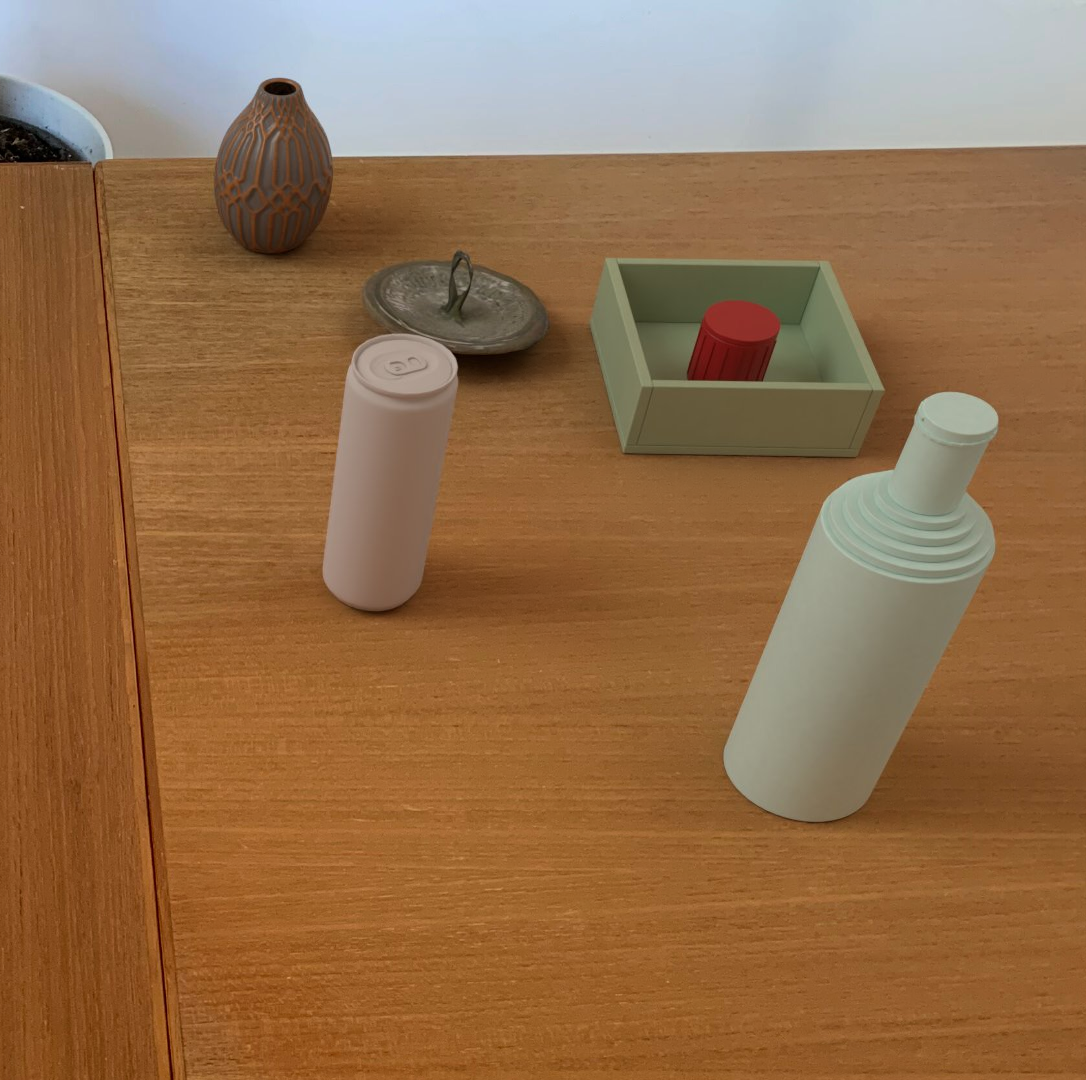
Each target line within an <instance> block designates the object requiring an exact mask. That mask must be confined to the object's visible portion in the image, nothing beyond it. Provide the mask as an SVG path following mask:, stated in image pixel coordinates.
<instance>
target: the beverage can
mask: <svg viewBox="0 0 1086 1080" xmlns="http://www.w3.org/2000/svg"><path fill="white" fill-rule="evenodd" d="M352 354H353V355H352V357H351V363H350V364H349V367H348V369H347V373H346V377H345V384H344V391H343V392H344V393H343V400H342V409H341V416H340V425H339V432H338V441H337V449H336V457H335V464H334V474H333V479H332V481H333V482H332V489H331V495H330V496H331V497H330V505H329V513H328V521H327V530H326V537H325V545H324V552H323V553H324V554H323V561H322V570H321V571H322V572H321V573H322V578H323V581H324V583H325V585H326V587H327V589H328V590H329V591H330V593H331V594H332V595H333V596H334V597H335V598H336V599H338V600H339V602H342V603H343V604H345V605H347V606H348V607H350V608H352V609H353V608H354V609H357V610H360V611H365V612H366V611H367V612H384V611H389V610H393V609H395V608H397V607H400V606H402V605H403V604H405V603H406V602H407V601H409V600H410V598H411V597H412V596H414V595H415V593H416V592H417V591H418V590H419V588H420V587H421V585H422V580H423V576H424V571H425V565H426V561H427V554H428V550H429V545H430V538H431V533H432V527H433V523H434V516H435V511H436V507H437V500H438V496H439V489H440V484H441V479H442V473H443V467H444V463H445V457H446V452H447V447H448V441H449V436H450V430H451V425H452V420H453V415H454V410H455V409H454V408H455V404H456V398H457V392H458V389H459V387H458V386H459V378H458V369H459V366H458V362H457V358H456V356H455V355H454V354H453V353H452V352H451V351H450V350H448V349H447V348H446V347H445V346H443V345H442V344H440V343H438V342H436V341H434V340H432V339H429V338H425V337H422V336H418V335H411V334H393V333H389V334H382V335H377V336H375V337H372V338H369V339H367V340H366V341H364V342H363V343H360V345H359V346H358V347H357V348H356V349H355V350H354V351H353V353H352Z"/></svg>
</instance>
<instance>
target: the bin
mask: <svg viewBox="0 0 1086 1080" xmlns="http://www.w3.org/2000/svg"><path fill="white" fill-rule="evenodd" d="M729 300H739V301H747V302H752V303H755V304H758V305H761V306H763V307H765V308H767V309H769V310H770V311H772V312H773V313H774V314H775V315H776V316H777V317H778V319H779V321H780V330H779V333H778V336H777V339H776V340H777V342H776V345H775V348H774V351H773V353H772V356H771V359H770V362H769V365H768V368H767V371H766V374H765V377H764V379H763V382H748V381H688V379H687V370H688V367H689V362H690V359H691V356H692V352H693V349H694V346H695V343H696V339H697V336H698V333H699V329H700V326H701V323H702V320H703V319H704V315H705V313H706V311H707V309H708V308H709V307H710V306H712V305H714V304H716V303H719V302H722V301H729ZM589 319H590V320H589V327H590V333H591V335H592V340H593V343H594V346H595V351H596V354H597V358H598V363H599V366H600V370H601V374H602V378H603V381H604V385H605V389H606V392H607V396H608V400H609V404H610V408H611V413H612V416H613V421H614V424H615V428H616V431H617V435H618V439H619V443H620V446H621V450H622V453H623V454H639V455H640V454H643V455H645V454H646V455H648V454H649V455H703V456H705V455H706V456H707V455H708V456H709V455H710V456H759V457H760V456H761V457H765V456H767V457H818V458H819V457H822V458H823V457H824V458H825V457H827V458H831V457H832V458H857V457H858V456H859V453H860V451H861V449H862V446H863V443H864V442H865V439H866V437H867V434H868V432H869V430H870V427H871V424H872V421H873V420H874V417H875V414H876V412H877V410H878V408H879V405H880V404H881V403H880V402H881V400H882V397H883V395H884V393H885V391H886V389H885V388H884V385H883V382H882V380H881V378H880V376H879V373H878V371H877V369H876V366H875V363H874V362H873V360H872V357H871V355H870V353H869V351H868V348H867V345H866V343H865V342H864V341H865V340H864V339H863V336H862V333H861V332H860V330H859V329H860V328H859V327H858V324H857V323H856V320H855V318H854V316H853V314H852V312H851V309H850V307H849V304H848V301H847V300H846V297H845V295H844V293H843V290H842V287H841V286H840V283H839V281H838V278H837V276H836V274H835V272H834V269H833V267H832V265H831V263H830V261H829V260H792V259H791V260H790V259H789V260H787V259H786V260H785V259H784V260H783V259H774V260H773V259H724V258H723V259H719V258H717V259H716V258H715V259H714V258H655V257H653V258H650V257H646V258H645V257H605V259H604V263H603V267H602V271H601V275H600V279H599V282H598V288H597V290H596V295H595V299H594V305H593V307H592V310H591V315H590V318H589Z"/></svg>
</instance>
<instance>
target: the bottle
mask: <svg viewBox="0 0 1086 1080" xmlns="http://www.w3.org/2000/svg"><path fill="white" fill-rule="evenodd" d="M913 418H914V420H913V426H912V428H911V431H910V432H909V435H908V437H907V439H906V441H905V444H904V447H903V448H902V450H901V453H900V456H899V458H898V460H897V462H896V464H895V467H894V469H890V470H883V471H878V472H871V473H866V474H862V475H859V476H856V477H854V478H851V479H849V480H847V481H846V482H844V483H843V484H842V485H840V486H839V487H838V488H836V489H835V490H833V491H832V492H831V493H830V494H829V495H828V496H827V497H826V499H824V501H823V503H822V506H821V508H820V511H819V513H818V516H817V518H816V521H815V523H814V526H813V528H812V530H811V533H810V534H809V535H810V536H809V538H808V540H807V543H806V546H805V548H804V550H803V553H802V555H801V557H800V560H799V563H798V565H797V567H796V570H795V571H794V574H793V577H792V579H791V583H790V584H789V587H788V589H787V592H786V595H785V597H784V600H783V602H782V605H781V607H780V609H779V611H778V614H777V617H776V620H775V621H774V625H773V626H772V629H771V631H770V634H769V637H768V639H767V642H766V643H765V647H764V649H763V651H762V654H761V657H760V659H759V662H758V663H757V666H756V668H755V671H754V673H753V676H752V679H751V680H750V684H749V686H748V689H747V692H746V694H745V696H744V698H743V701H742V704H741V706H740V709H739V710H738V713H737V716H736V718H735V721H734V723H733V726H732V728H731V731H730V733H729V736H728V738H727V740H726V743H725V746H724V749H723V752H722V753H723V755H722V757H723V765H724V769H725V771H726V774H727V776H728V779H729V780H730V782H731V784H733V786H734V787H735V788H736V789H737V790H738V791H739V793H740V794H741V795H742V796H744V797H745V798H746V799H747V800H748V801H750V802H751V803H752V804H754V805H756V806H757V807H759V808H761V809H763V810H765V811H766V812H769V813H771V814H773V815H776V816H778V817H782V818H784V819H789V820H793V821H800V822H807V823H808V822H809V823H825V822H831V821H836V820H840V819H843V818H845V817H848V816H850V815H852V814H853V813H856V812H857V811H858V810H860V809H861V808H862V807H863V806H864V805H865V804H866V803H867V801H869V798H870V796H871V794H872V792H873V791H874V789H875V787H876V785H877V783H878V781H879V779H880V777H881V776H882V774H883V772H884V770H885V767H886V765H887V764H888V762H889V759H890V758H891V756H892V754H893V753H894V750H895V749H896V746H897V744H898V742H899V740H900V738H901V737H902V735H903V733H904V730H905V728H906V727H907V725H908V723H909V721H910V719H911V717H912V716H913V714H914V712H915V710H916V708H917V705H918V704H919V702H920V700H921V698H922V696H923V694H924V692H925V690H926V689H927V686H928V685H929V683H930V680H931V678H932V676H933V675H934V672H935V671H936V669H937V667H938V665H939V663H940V662H941V659H942V657H943V655H944V654H945V651H946V649H947V648H948V645H949V644H950V642H951V640H952V638H953V636H954V634H955V632H956V630H957V628H958V626H959V625H960V622H961V620H962V618H963V617H964V614H965V613H966V611H967V609H968V607H969V605H970V603H971V602H972V599H973V597H974V595H975V593H976V591H977V589H978V587H979V586H980V584H981V581H982V580H983V578H984V576H985V574H986V572H987V570H988V568H989V566H990V565H991V563H992V561H993V559H994V556H995V553H996V538H995V531H994V526H993V523H992V521H991V518H990V516H989V515H988V514H987V513H986V511H985V510H984V509H983V508H982V506H981V505H980V504H978V502H977V501H976V500H975V499H974V498H973V497H972V496H971V495H970V494H969V493H968V492H967V489H968V488H969V485H970V483H971V481H972V479H973V477H974V474H975V473H976V471H977V468H978V466H979V464H980V462H981V460H982V459H983V456H984V455H985V452H986V450H987V448H988V445H989V444H990V441H992V440H993V439H994V438H995V437H996V434H997V433H998V430H999V414H998V413H997V411H996V410H995V409H994V407H993V406H992V405H990V404H989V402H987V401H986V400H983V399H981V398H979V397H977V396H975V395H971V394H969V393H964V392H957V391H943V392H937V393H933V394H931V395H930V396H928V397H925V399H924V400H922V401H921V402H920V404H919V406H918V408H917V411H916V413H915V415H914V417H913Z"/></svg>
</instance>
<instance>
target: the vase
mask: <svg viewBox="0 0 1086 1080" xmlns="http://www.w3.org/2000/svg"><path fill="white" fill-rule="evenodd" d="M213 174H214V175H213V176H214V177H213V189H214V193H213V194H214V199H215V205H216V209H217V213H218V215H219V219H220V220H221V223H222V225H223V227H224V228H225V229H226V231H227V233H229V235H230V236H231V237H232V238H233V239H234V240H235V241H236V242H237V243H238V244H239V245H240V246H241V247H243V248H245V249H248V250H250V251H252V252H256V253H261V254H281V253H285V252H288V251H291V250H293V249H295V248H296V247H298V246H299V245H301V244H302V243H304V241H306V240H307V239H309V238H310V237H311V235H312V234H313V233H314V232H315V231H316V230H317V229H318V227H319V225H320V223H321V222H322V220H323V218H324V216H325V213H326V212H327V208H328V205H329V202H330V198H331V195H332V188H333V181H334V180H333V179H334V163H333V155H332V149H331V146H330V141H329V138H328V135H327V132H326V130H325V129H324V127H323V126H322V124H321V122H320V120H319V119H318V118H317V116H316V114H315V113H314V111H313V110H312V109H311V107H310V106H309V103H308V102H307V100H306V98H305V95H304V90H303V88H302V85H301V84H300V83H299V82H297V81H296V80H294V79H291V78H286V77H272V78H268V79H265V80H264V81H261V83H260V84H259V85H258V87H257V89H256V92H255V94H254V95H253V98H252V99H251V101H250V102H249V103H248V104H247V105H246V106H245V108H244V109H243V110H241V112H240V113H239V114H238V116H237V117H236V118H235V119H234V120H233V121H232V123H231V124H230V126H229V127H228V128H227V130H226V132H225V133H224V135H223V138H222V141H221V143H220V146H219V149H218V152H217V156H216V159H215V164H214V173H213Z"/></svg>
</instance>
